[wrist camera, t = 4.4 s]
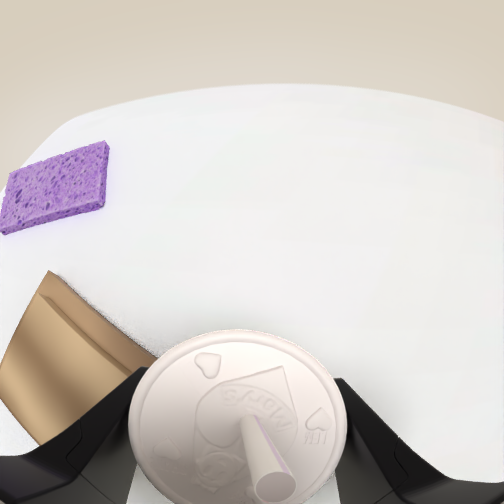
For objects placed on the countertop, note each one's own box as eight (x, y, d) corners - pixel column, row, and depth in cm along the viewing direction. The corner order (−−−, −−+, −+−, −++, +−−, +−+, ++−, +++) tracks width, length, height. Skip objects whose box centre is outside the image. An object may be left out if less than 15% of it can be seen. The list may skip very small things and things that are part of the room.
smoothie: (303, 375, 16) (492, 387, 3) (251, 460, 14) (311, 629, 1) (213, 325, 17) (171, 204, 4) (160, 409, 15) (5, 500, 2)
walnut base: (103, 488, 13) (86, 502, 10) (2, 387, 14) (-20, 386, 12) (177, 371, 17) (165, 374, 14) (58, 276, 18) (37, 263, 16)
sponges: (18, 181, 22) (9, 172, 21) (113, 149, 24) (106, 137, 22) (5, 238, 20) (-6, 230, 18) (107, 211, 21) (98, 199, 20)
